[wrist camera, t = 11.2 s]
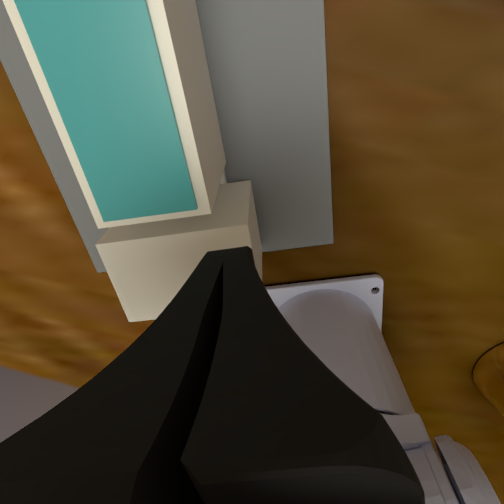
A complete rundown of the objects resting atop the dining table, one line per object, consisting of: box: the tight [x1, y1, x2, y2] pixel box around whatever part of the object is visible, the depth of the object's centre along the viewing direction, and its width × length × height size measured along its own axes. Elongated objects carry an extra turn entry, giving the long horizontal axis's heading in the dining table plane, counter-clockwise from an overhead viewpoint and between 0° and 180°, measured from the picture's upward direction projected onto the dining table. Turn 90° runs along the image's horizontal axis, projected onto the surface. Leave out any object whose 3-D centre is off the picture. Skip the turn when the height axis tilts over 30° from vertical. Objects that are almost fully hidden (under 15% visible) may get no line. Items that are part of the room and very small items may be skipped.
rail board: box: [0, 0, 334, 322], centre depth 14 cm, size 18×14×6 cm
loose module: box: [2, 0, 226, 229], centre depth 13 cm, size 7×4×6 cm, turn 9°
